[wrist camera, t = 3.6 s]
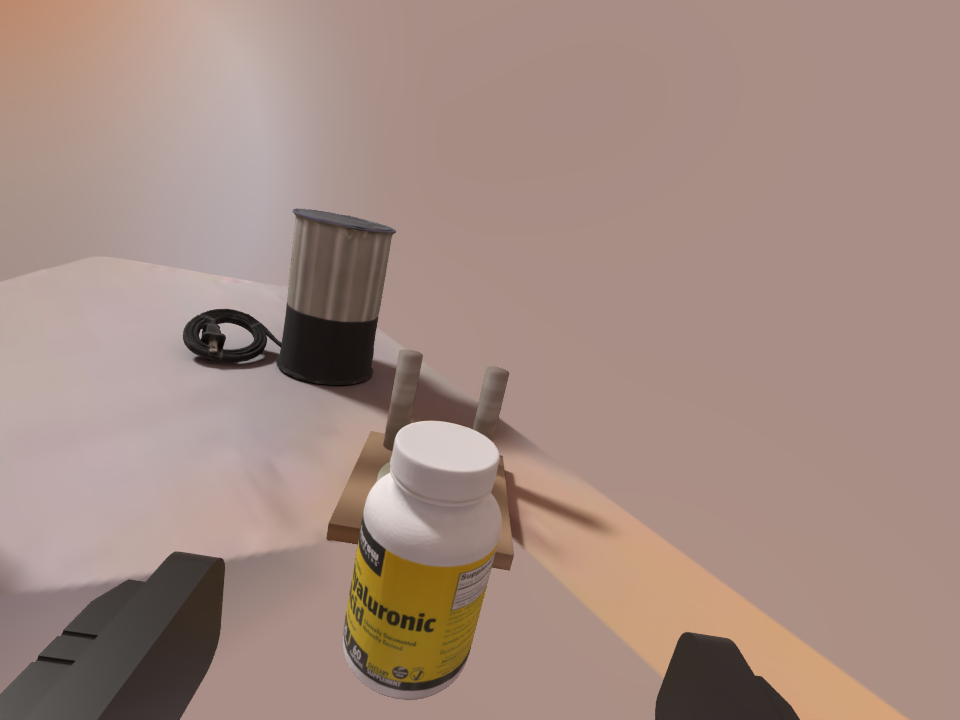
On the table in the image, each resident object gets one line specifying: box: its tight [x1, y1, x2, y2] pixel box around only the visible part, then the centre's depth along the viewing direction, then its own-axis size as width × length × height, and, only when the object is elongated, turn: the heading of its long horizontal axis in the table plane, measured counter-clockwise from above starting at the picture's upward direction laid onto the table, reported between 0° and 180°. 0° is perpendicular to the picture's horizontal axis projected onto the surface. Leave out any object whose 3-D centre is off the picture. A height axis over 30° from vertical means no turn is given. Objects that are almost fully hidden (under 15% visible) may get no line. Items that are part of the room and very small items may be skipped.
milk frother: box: [183, 209, 396, 385], centre depth 48 cm, size 14×16×15 cm
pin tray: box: [327, 350, 514, 570], centre depth 32 cm, size 12×10×8 cm
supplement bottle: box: [343, 421, 502, 700], centre depth 21 cm, size 5×5×10 cm
